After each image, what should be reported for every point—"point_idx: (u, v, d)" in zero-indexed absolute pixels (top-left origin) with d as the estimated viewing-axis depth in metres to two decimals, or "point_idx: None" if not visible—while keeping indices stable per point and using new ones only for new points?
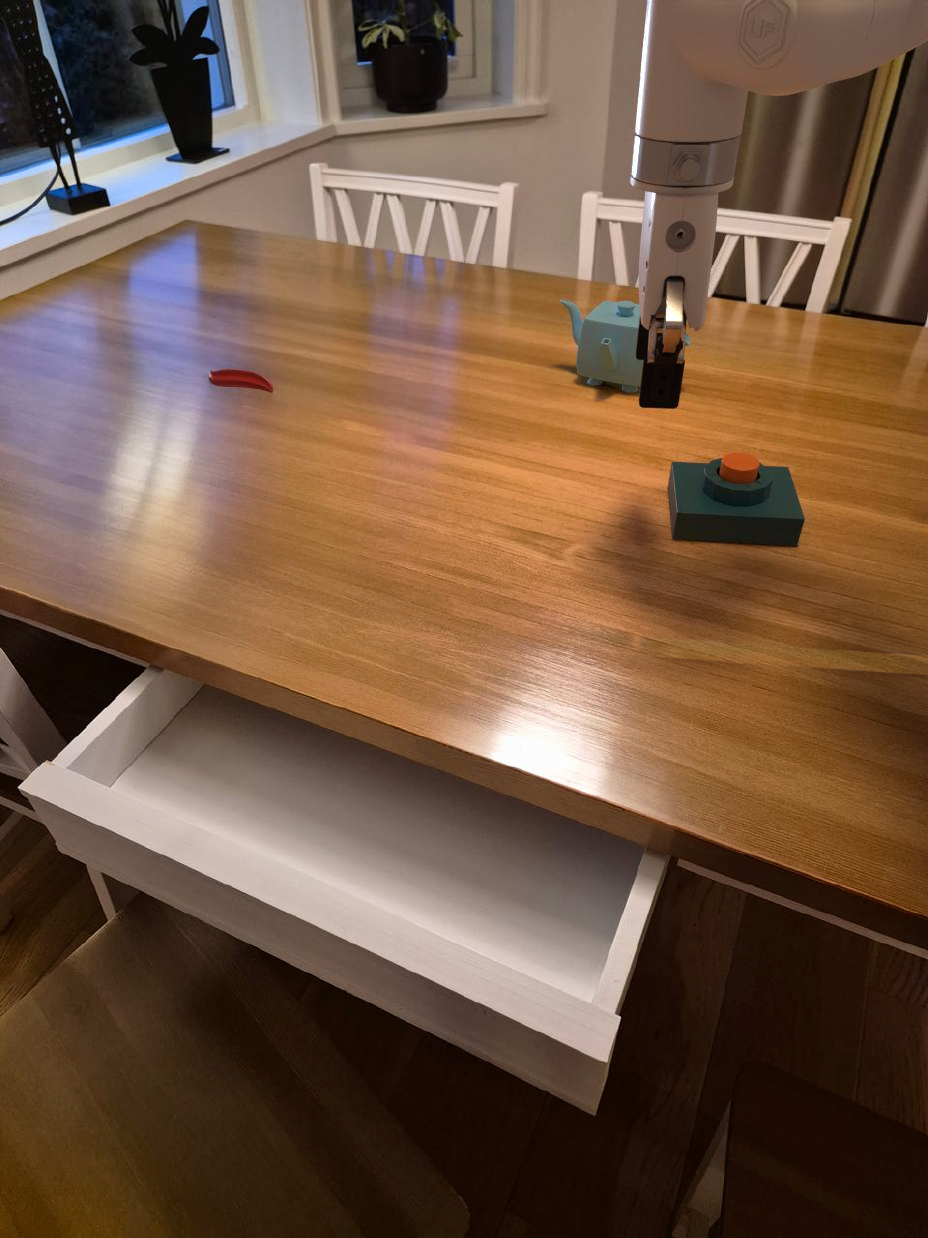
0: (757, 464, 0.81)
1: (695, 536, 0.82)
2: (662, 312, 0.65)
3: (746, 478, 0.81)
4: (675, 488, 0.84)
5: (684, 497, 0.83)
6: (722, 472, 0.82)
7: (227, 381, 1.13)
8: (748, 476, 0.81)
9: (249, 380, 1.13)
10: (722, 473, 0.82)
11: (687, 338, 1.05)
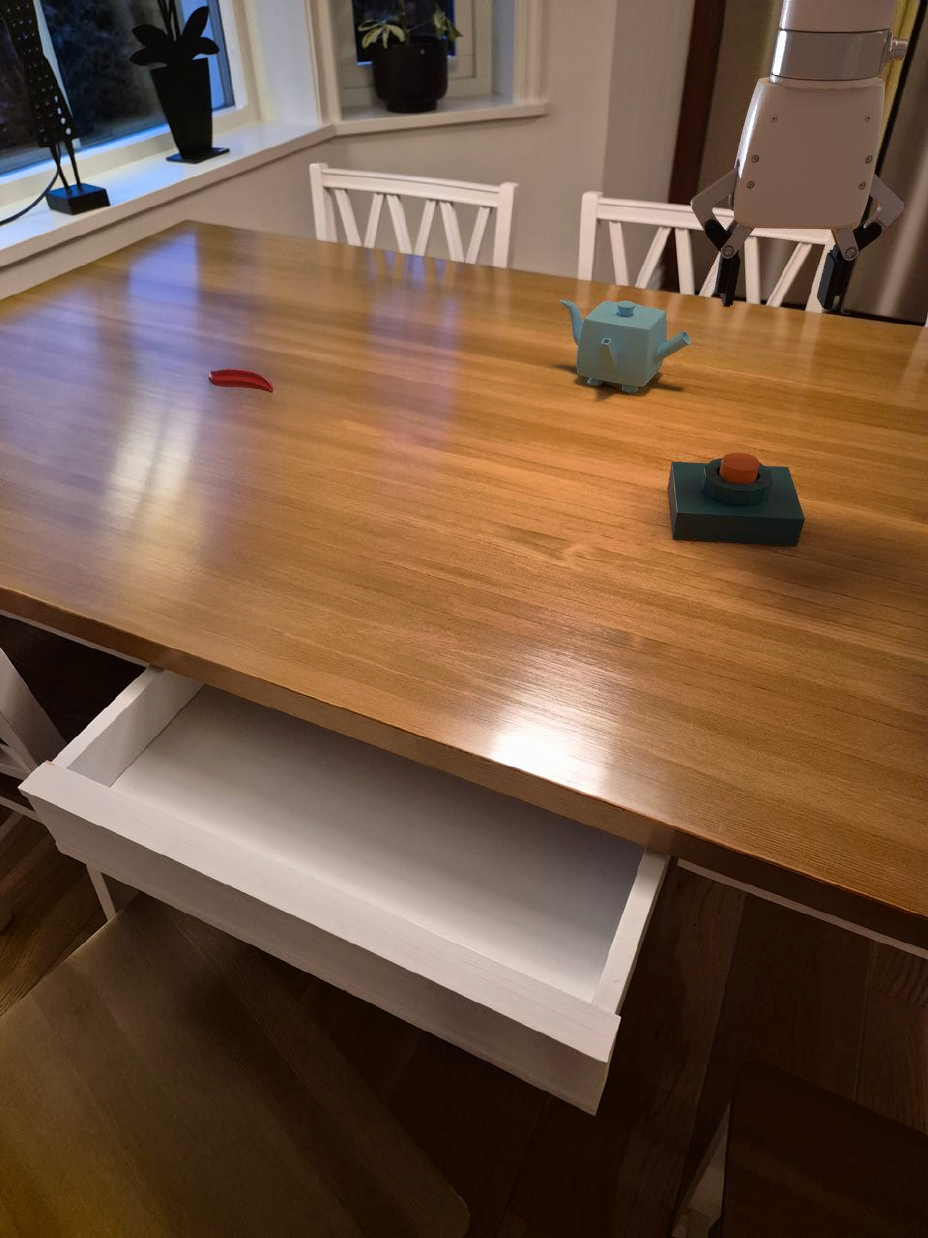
0: (757, 464, 0.81)
1: (695, 536, 0.82)
2: None
3: (746, 478, 0.81)
4: (675, 488, 0.84)
5: (684, 497, 0.83)
6: (722, 472, 0.82)
7: (227, 381, 1.13)
8: (748, 476, 0.81)
9: (249, 380, 1.13)
10: (722, 473, 0.82)
11: (687, 338, 1.05)
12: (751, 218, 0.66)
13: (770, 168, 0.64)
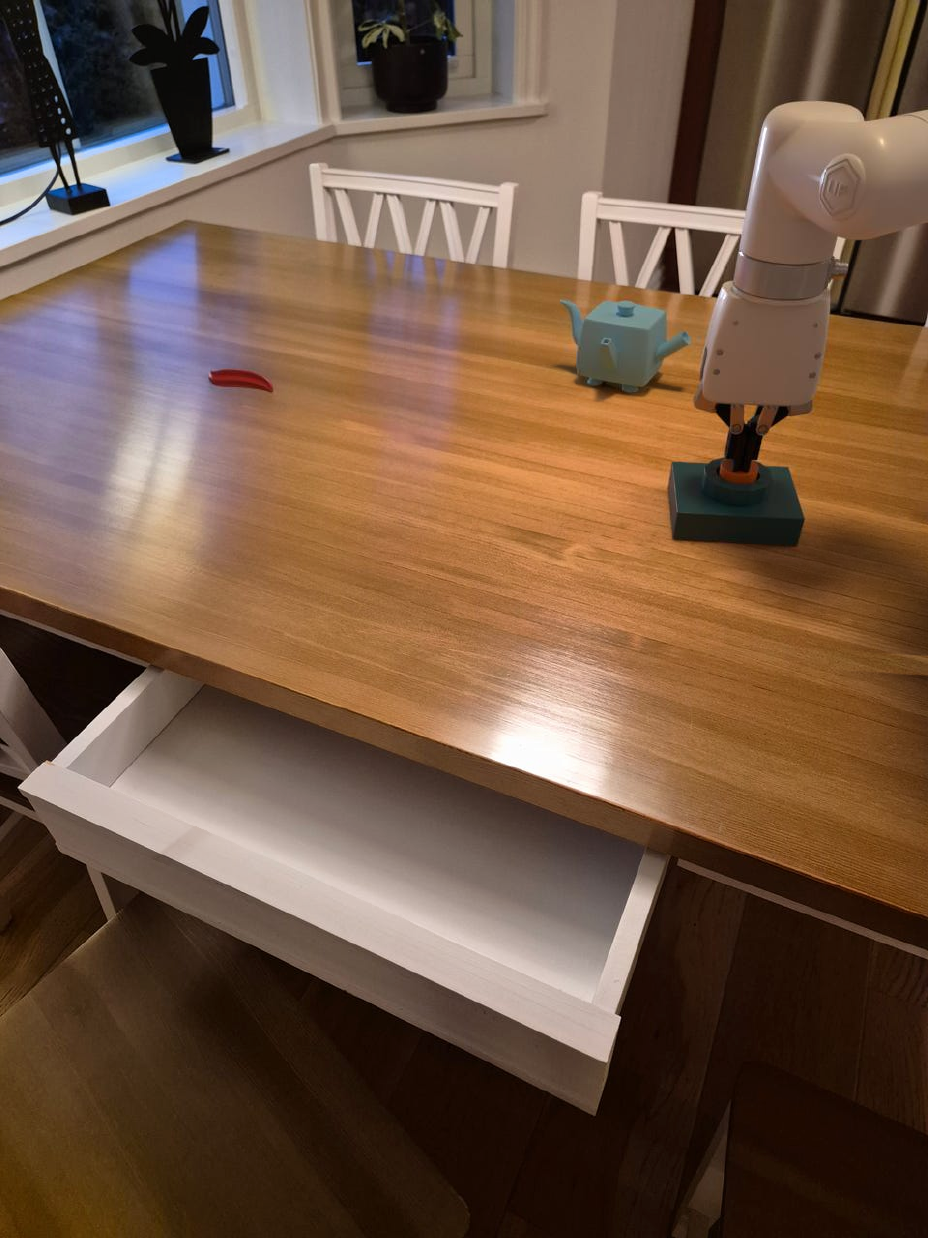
0: (756, 469, 0.82)
1: (695, 536, 0.82)
2: None
3: (745, 482, 0.81)
4: (675, 488, 0.84)
5: (684, 497, 0.83)
6: (721, 476, 0.83)
7: (227, 381, 1.13)
8: (747, 480, 0.81)
9: (249, 380, 1.13)
10: (721, 477, 0.83)
11: (687, 338, 1.05)
12: (717, 397, 0.76)
13: (733, 360, 0.73)
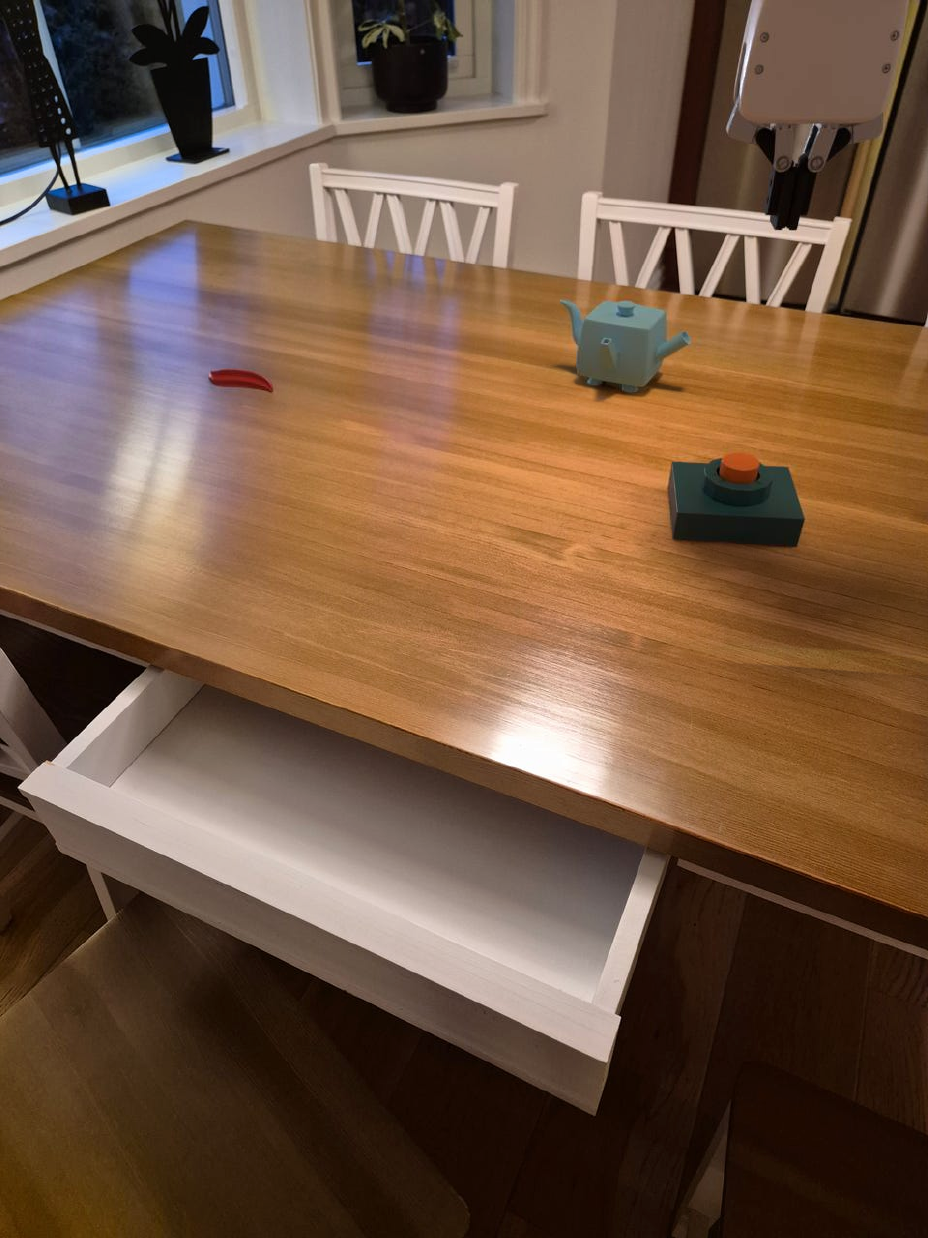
0: (757, 464, 0.81)
1: (695, 536, 0.82)
2: None
3: (746, 478, 0.81)
4: (675, 488, 0.84)
5: (684, 497, 0.83)
6: (722, 472, 0.82)
7: (227, 381, 1.13)
8: (748, 476, 0.81)
9: (249, 380, 1.13)
10: (722, 473, 0.82)
11: (687, 338, 1.05)
12: (759, 110, 0.58)
13: (781, 48, 0.56)
